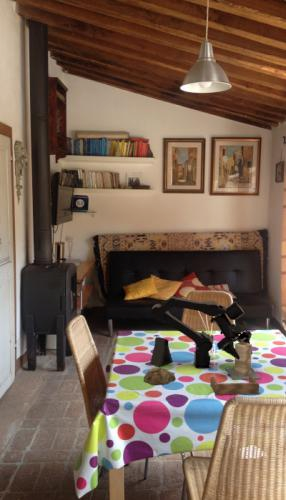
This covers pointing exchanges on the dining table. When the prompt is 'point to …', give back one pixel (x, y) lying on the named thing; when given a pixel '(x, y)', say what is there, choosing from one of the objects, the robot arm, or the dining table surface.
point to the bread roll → (159, 376)
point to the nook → (235, 387)
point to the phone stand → (161, 353)
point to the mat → (240, 377)
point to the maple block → (243, 358)
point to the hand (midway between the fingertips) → (245, 356)
